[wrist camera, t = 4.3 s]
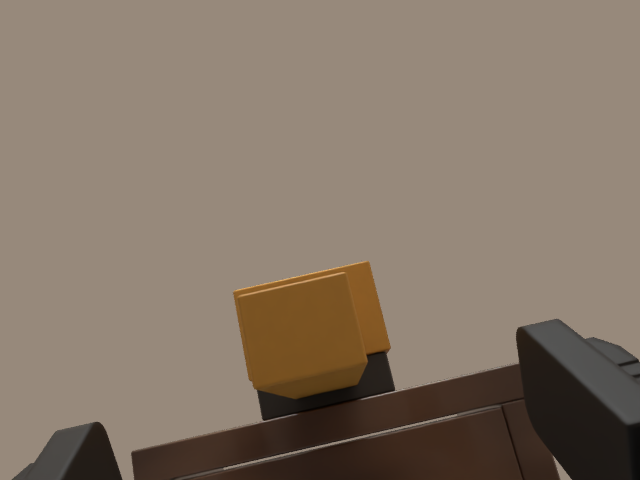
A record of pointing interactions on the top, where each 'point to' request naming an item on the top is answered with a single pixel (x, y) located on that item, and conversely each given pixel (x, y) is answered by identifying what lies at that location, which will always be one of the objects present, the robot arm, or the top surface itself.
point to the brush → (314, 340)
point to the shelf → (376, 439)
